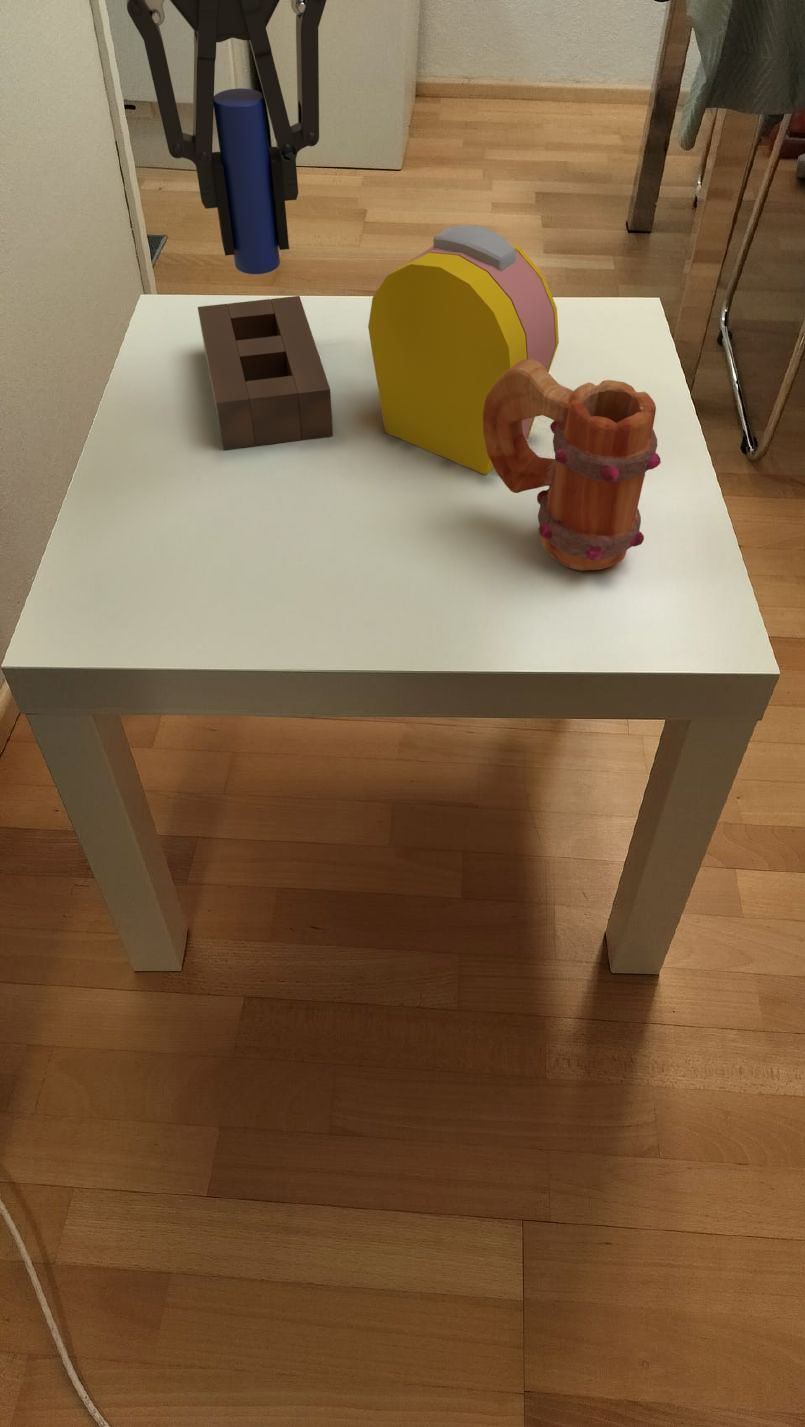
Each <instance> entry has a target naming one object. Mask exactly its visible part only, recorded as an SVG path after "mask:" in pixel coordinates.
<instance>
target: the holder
mask: <svg viewBox="0 0 805 1427" xmlns="http://www.w3.org/2000/svg"><path fill="white" fill-rule="evenodd" d="M197 313H198V318H199V319H198V320H199V325H200V331H201V338H202V344H203V350H204V356H205V361H206V366H207V371H208V377H209V381H210V387H211V392H212V398H213V402H214V407H215V413H216V418H217V423H218V429H219V434H220V438H221V444H222V449H223V451H228V450H236V449H242V448H250V447H257V446H266V445H267V446H268V445H274V444H281V443H289V442H298V441H303V440H311V439H320V438H325V437H333V436H334V430H333V429H334V428H333V413H332V412H333V411H332V396H331V388H330V385H329V381H328V378H327V375H326V373H325V369H324V365H323V363H322V360H321V357H320V354H319V351H318V348H317V345H316V342H315V339H314V335H313V332H312V330H311V329H312V328H311V327H310V323H309V321H308V317H307V315H306V312H305V309H304V306H303V302H302V299H301V296H300V295H293V296H283V297H276V298H275V297H274V298H266V299H259V300H257V299H256V300H248V301H247V300H246V301H240V302H230V303H221V304H220V303H219V304H209V305H201V306H197Z"/></svg>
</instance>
